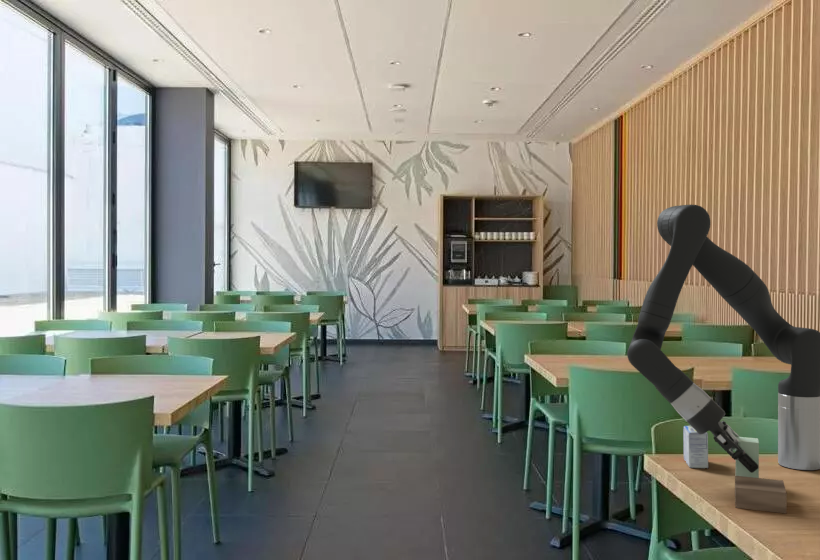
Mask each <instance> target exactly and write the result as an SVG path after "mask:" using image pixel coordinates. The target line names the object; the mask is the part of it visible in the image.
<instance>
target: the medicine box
mask: <svg viewBox="0 0 820 560" xmlns="http://www.w3.org/2000/svg"><path fill="white" fill-rule="evenodd" d="M682 431H683V432H682V433H683V434H682V435H683V460H684V461H686V462H685V463H686V465H687V466H688V467H689V469H705V468H707V469H708V468H709V433H708V431H707V432H706V433H704V434H699V433H698V432H697V431H696V430H695V429H694V428H693V427H692V426H691V425H684V426H683V430H682Z"/></svg>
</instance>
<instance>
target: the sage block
mask: <svg viewBox="0 0 820 560" xmlns="http://www.w3.org/2000/svg"><path fill="white" fill-rule="evenodd" d="M736 438H737V439H738V440H739V442H740V446H741V447H742V449H743V450H745V452H746V453H747V454H748V455H749V456H750V457H751V458H752V459H753V460H754V461H755V462H756V463H757V464H758V466H760V459H759V458H760V447H759V445H760V441H759V438H757V437H756V438H755V437H745V436H744V437H743V436H739V437H736ZM736 451H737V449H736V450H735V452H736ZM759 471H760V467H759V468H758V469H757V470H756V471H754V472H753V473H751V472H750V471H749V470H748V469H747V468H746V467H745V466H744V465H743V464H742V463H741V462H740V461H739V460H735V476H744V477H754V478H760V476H759V475H760V473H759Z"/></svg>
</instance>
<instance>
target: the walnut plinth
mask: <svg viewBox="0 0 820 560" xmlns="http://www.w3.org/2000/svg"><path fill="white" fill-rule="evenodd" d="M734 501H735V502H734V503H735V505H734V506H735V508H738V509H745V510H746V509H747V510H753V511H761V512H762V511H763V512H769V513H770V512H771V513H778V514H779V513H781V514H787V490H786V486H785V483H784V479H783V480H782V479H773V478H771V479H770V478H765V477H764V478H763V477H762V478H761V477H759V478H754V477H744V476H736V475H734Z"/></svg>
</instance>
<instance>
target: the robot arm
mask: <svg viewBox="0 0 820 560" xmlns="http://www.w3.org/2000/svg"><path fill="white" fill-rule="evenodd" d="M656 225H657V226H656V227H657V231H658V233H659V235H660V237H661V238H662V240H663V241H665V243H667V244H668V245H669V246H670V249H669V251H668V254H667V257H666V258H665V261H664V263H663V265H662V267H661V268H660V269H659V272H657V274H656V275H655V277H654V278H653V280H652V282H651V283H650V285H649V287H648V289H647V291H646V294H645V297H644V299H643V302H642V306H641V308H640V311H639V316H638V320H637V326H636V328H635V331H634V333H633V335H632V339H631V341H630V344H629V347H628V348H627V352H626V353H627V355H626V356H627V360H628V362H629V363H630V365H632V367H633V368H635V370H636V371H638V372H639V373H640V374H641V375H642V376H643V377H644V378H646V380H648V381H649V382H650V383H651V384H652V385H653V387H655V389H656V390H657V391H658V392H659V394H660V395H661V396H663V398H664V399H665V400H666V401H667V402H668V403H669V404H671V406H672V407H673V408H674V410H675V411H676V412H677V413H678V414H679V415H680V417H681V418H683V419H684V421H685V422H687V423H688V425H689V426H692V427H693V428H694V429H695V430H696V431H697V432H698V433H699V434H704V433H706V432H707V433H708V432H711V434H712V435H713V439H714V442H715V443H717V444H718V445H719V446H720V447H721V449H723V450H724V451H725V452H726V453H727V454H728V455H729V456H730V457H731V459H732V460H735V461H736V460H739V461H740V462H741V463H742V464H743V465H744V466H745V467H746V468H747V469H748V470H749V471H750V472H751V473H753V472H754V471H756V470H757V469H758V468H759V469H760V467H759V466H760V465H759V466H758V464H757V463H756V462H755V461H754V460H753V459H752V458H751V457H750V456H749V455H748V454H747V453H746V452H745V450H743V449H742V447H741V446H740V442H739V440H738V439H737V438H736V437H740V436H739V434H738V433H736V432H735V430H734V429H733V428H732V427H731V426H730V425H729V424H728V423H727V422H726V421H725V420H722V419H723V418H725V415H726V411H725V410H724V409H723V408H722V407H721V406H720V405H718V403H717V402H716V401H715V400H714V399H713V398H712V397H711V396H709V395H708V393H707V392H706V391H705V390H704V389H702V388H701V387H700V386H699V385H697V384H696V383H694V380H692V379H690V377H689V376H687V374H686V373H684V372H683V370H681V369H680V368H678V366H676V364H674V363H673V361H671V359H670V358H669V357H668V356H667V355H666V354H665V353H664V351H662V350H661V349H662V348H663V347H662V346H663V342H664V339H665V335H666V332H667V330H668V329H669V327H670V325H671V321H672V318H673V315H674V312H675V309H676V306H677V303H678V300H679V297H680V294H681V292H682V289H683V286H684V284H685V282H686V279H687V278H688V275H689V273H690V271H691V270H692V267H694V268H695V269H696V270H697V272H698V273H699V274H700V276H702V277H703V278H704V280H705V281H707V282H708V284H709V285H710V286H712V288H713V289H714V290H715V292H717V293H718V295H719V296H720V297H722V298H723V300H724V301H725V302H726V303H727V304H728V305H729V306H730V307H731V308H732V309H733V310H734V311H735V312H736V313H737V314H738V315H739V316H740V317H741V318H742V319H743V320H744V321H745V322H746V323H747V324H748V325H749V326H750V327H751V328H752V330H754V332H755V333H756V334H757V335H758V337H759V338H760V339H761V340H762V342H763V344H765V346H766V347H767V349H768V350H769V352H770V353H771V354H772V355H773V356H774V357H775V358H776V359H777V360H778V361H779V362H781V363H784V364H787V365H790V373H789V376H787V378H784V379H781V380H779V382H778V385H777V405H778V407H777V411H778V412H777V413H778V414H777V428H778V429H777V442H778V443H777V463H779V464H778V465H780V466H782V467H785V468H789V469H794V470H802V471H815V470H820V331H819V330H817V329H814V328H809V327H800V326H794V325H791V324H790V323H789V322H788V321H787V320H786V319H785V318H783V316H782V315H781V314H780V313H778V312H777V310H776V308H775V307H774V306H773V303H772V299H771V295H770V292H769V289H768V287H767V285H766V284H765V282H764V281H763V280H762V279H761V278H760V276H759V275H758V274H757V273H756V272H755V271H754V270H753V269H752V267H750V266H749V265H748V264H747V263H745V262H744V261H743V260H741V259H740V258H739V257H736V256H735V255H733V254H732V253H730V252H728V251H726V250H725V249H724V248H721V247H720V245H719V246H718V245H717V244H716V243H714V242H713V241H712V240H711V239H710V238H709V237H708V235H709V232H710V230H711V229H710V228H711V217H710V215H709V213H708V211H707V210H706V209H705V208H704V207H703V206H701V205H698V204H681V205H673V206H669V207H667V208H665V209H663V210H662V211H661V212H660V213H659V216H658V217H657V221H656ZM736 449H737V451H736Z"/></svg>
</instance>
